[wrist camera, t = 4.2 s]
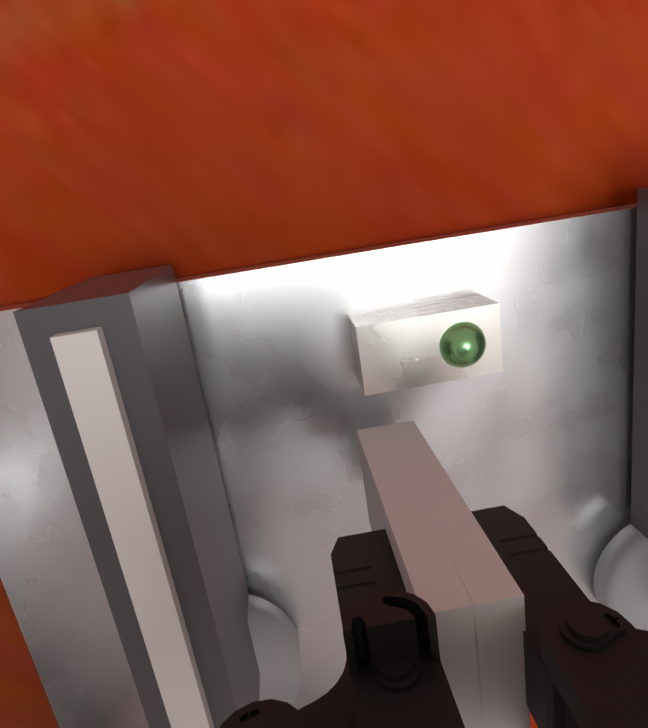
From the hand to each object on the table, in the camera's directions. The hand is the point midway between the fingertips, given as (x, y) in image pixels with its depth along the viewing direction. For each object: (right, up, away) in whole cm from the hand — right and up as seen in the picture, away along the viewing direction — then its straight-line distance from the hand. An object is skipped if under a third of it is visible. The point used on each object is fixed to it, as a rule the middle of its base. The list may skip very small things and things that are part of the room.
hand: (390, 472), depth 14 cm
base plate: (0, -1, +3) cm, 3 cm away
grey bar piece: (-5, -1, +1) cm, 6 cm away
